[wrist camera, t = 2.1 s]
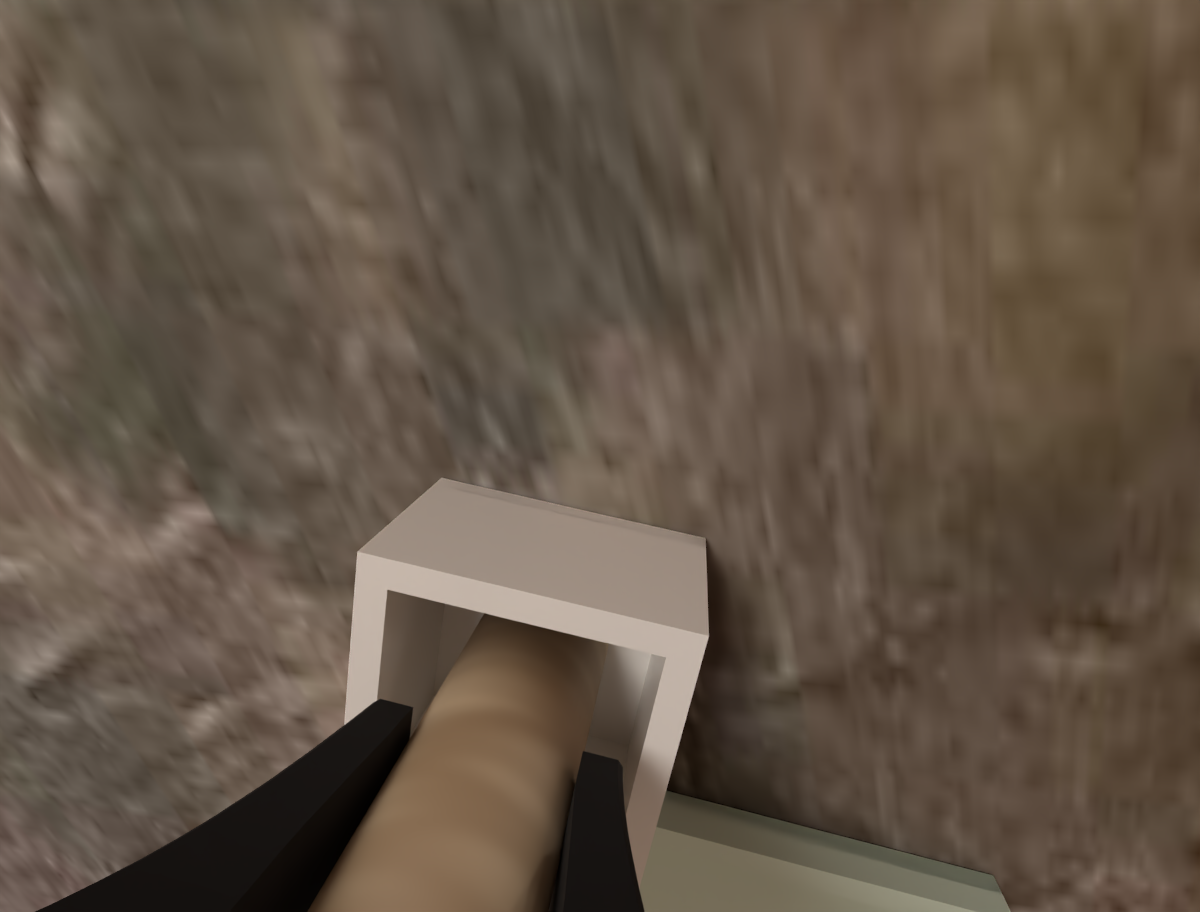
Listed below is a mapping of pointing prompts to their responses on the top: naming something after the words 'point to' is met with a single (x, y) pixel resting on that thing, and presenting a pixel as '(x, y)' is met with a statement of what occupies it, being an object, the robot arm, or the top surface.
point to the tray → (793, 869)
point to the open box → (539, 616)
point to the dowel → (479, 782)
